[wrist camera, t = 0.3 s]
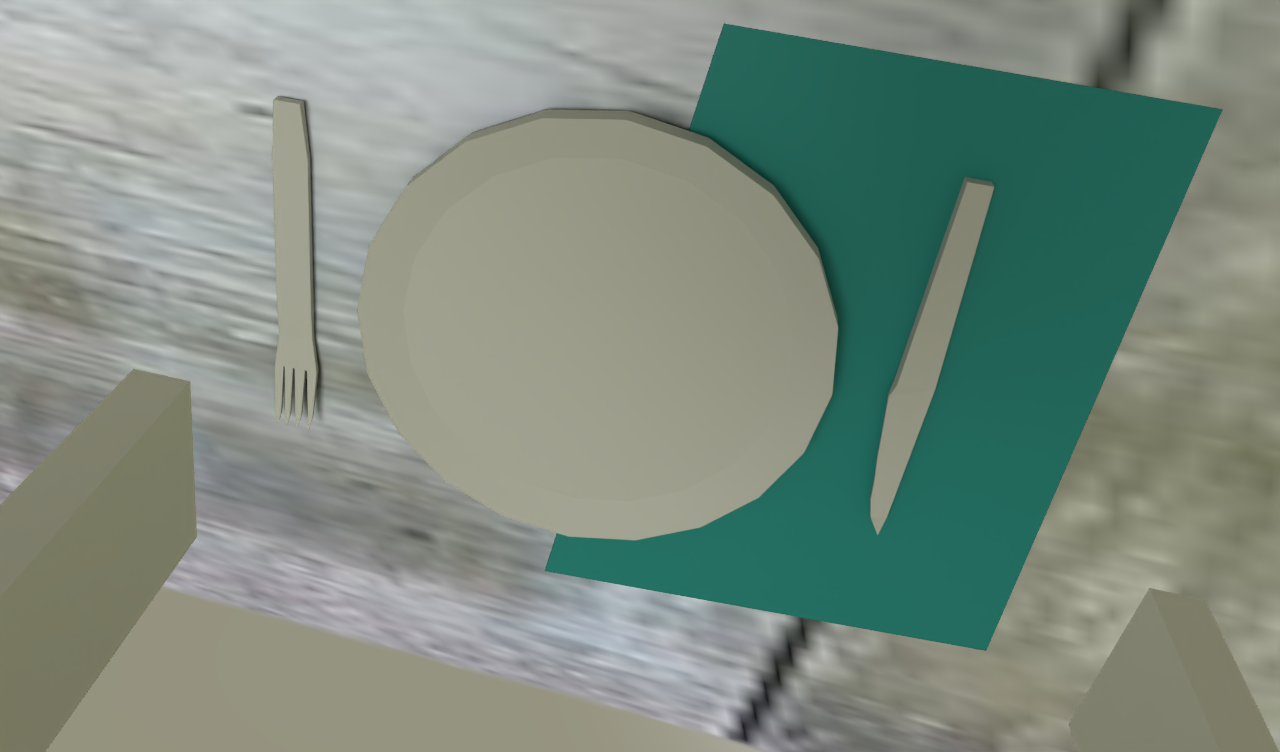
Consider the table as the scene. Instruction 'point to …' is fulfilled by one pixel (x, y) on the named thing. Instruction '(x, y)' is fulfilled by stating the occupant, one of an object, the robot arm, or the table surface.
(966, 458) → the place mat
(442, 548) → the table surface
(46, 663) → the robot arm
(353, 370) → the table surface
